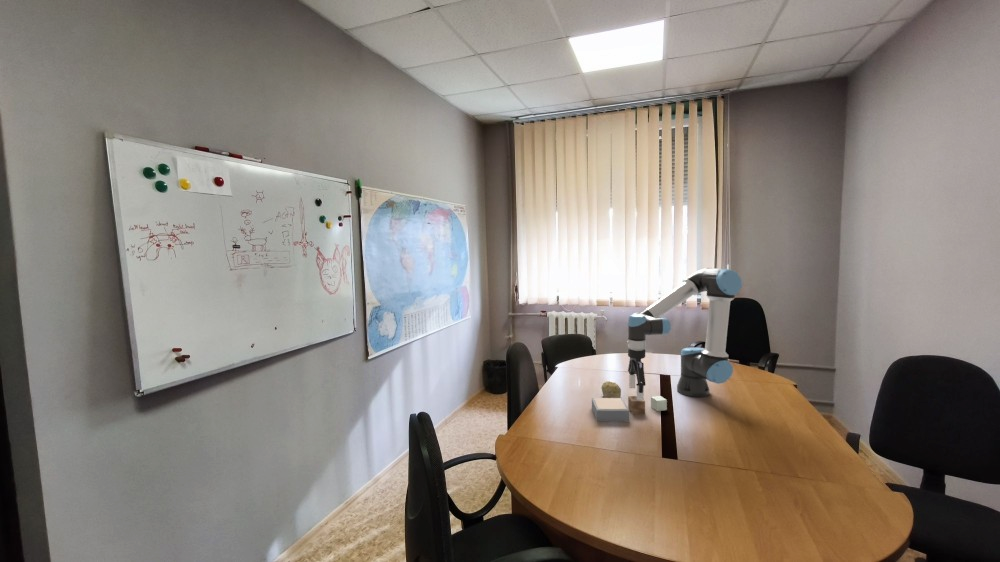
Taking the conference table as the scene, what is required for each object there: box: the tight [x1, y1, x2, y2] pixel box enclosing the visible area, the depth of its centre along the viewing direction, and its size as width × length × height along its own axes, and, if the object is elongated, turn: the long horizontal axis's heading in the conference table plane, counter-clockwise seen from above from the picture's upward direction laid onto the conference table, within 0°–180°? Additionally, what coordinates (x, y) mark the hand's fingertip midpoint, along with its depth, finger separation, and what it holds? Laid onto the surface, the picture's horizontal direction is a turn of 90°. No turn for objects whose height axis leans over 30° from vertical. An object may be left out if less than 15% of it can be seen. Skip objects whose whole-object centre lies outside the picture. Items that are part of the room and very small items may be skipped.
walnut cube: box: [627, 395, 646, 415], centre depth 180 cm, size 6×6×6 cm
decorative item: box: [600, 381, 622, 398], centre depth 198 cm, size 10×10×10 cm
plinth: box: [591, 397, 630, 422], centre depth 177 cm, size 14×14×5 cm
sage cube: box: [650, 395, 668, 412], centre depth 182 cm, size 5×5×5 cm
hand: (636, 393), depth 180 cm, fingers open, 13 cm apart
